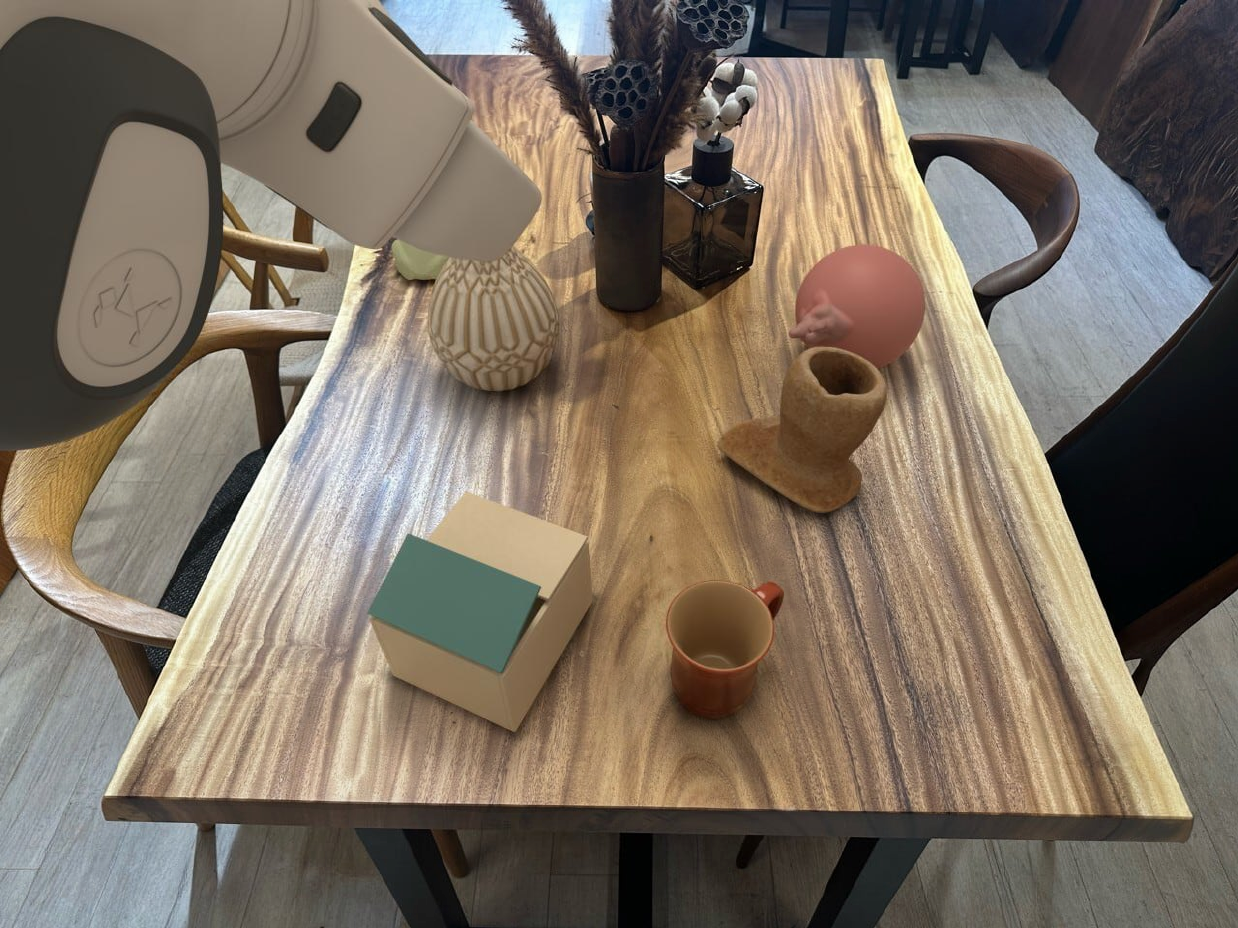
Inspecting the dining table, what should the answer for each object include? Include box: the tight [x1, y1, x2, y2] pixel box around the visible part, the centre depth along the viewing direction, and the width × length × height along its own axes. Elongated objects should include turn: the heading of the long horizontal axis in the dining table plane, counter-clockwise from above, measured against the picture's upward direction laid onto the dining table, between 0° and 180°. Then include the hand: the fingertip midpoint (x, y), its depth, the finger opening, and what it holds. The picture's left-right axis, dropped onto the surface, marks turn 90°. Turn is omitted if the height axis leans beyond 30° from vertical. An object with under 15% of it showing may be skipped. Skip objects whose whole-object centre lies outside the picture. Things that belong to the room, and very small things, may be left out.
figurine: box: [390, 239, 449, 281], centre depth 119 cm, size 10×16×10 cm, turn 179°
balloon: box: [788, 244, 926, 369], centre depth 99 cm, size 15×20×15 cm
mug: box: [665, 579, 785, 720], centre depth 70 cm, size 12×9×10 cm
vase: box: [427, 244, 560, 392], centre depth 97 cm, size 16×16×20 cm
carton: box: [368, 491, 593, 733], centre depth 73 cm, size 15×13×10 cm
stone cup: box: [716, 347, 888, 514], centre depth 86 cm, size 15×12×15 cm
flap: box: [366, 533, 541, 673], centre depth 66 cm, size 7×13×1 cm, turn 65°
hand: (411, 116), depth 41 cm, fingers closed
